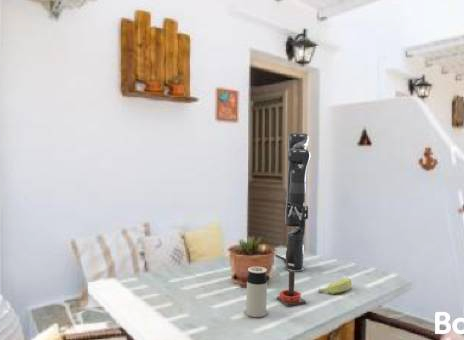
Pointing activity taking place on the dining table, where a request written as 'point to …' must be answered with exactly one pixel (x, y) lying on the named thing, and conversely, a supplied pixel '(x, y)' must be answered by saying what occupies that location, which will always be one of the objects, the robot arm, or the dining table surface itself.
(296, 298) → the ring
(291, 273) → the peg stand
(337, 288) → the banana
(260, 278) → the travel mug
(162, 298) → the dining table surface
